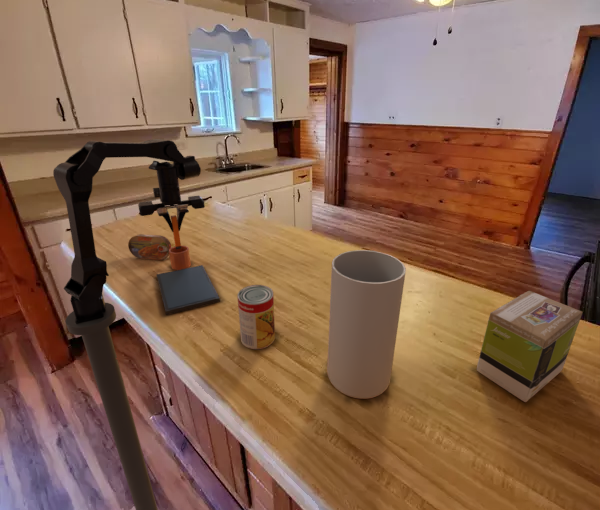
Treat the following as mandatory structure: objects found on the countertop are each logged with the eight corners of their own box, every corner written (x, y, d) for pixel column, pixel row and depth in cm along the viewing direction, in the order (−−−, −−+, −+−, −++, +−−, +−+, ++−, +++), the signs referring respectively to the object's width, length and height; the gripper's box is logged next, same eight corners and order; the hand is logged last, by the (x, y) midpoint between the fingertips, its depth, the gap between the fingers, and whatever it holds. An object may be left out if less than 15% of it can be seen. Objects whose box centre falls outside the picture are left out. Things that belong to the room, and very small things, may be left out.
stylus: (176, 249, 108) (171, 217, 104) (175, 247, 110) (170, 215, 105) (181, 248, 109) (176, 216, 105) (180, 246, 110) (175, 215, 106)
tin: (130, 257, 117) (125, 235, 114) (135, 254, 120) (131, 232, 117) (170, 261, 115) (166, 238, 112) (174, 257, 118) (171, 235, 115)
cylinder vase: (327, 399, 62) (333, 282, 53) (326, 352, 74) (330, 249, 64) (396, 402, 62) (414, 284, 52) (383, 354, 73) (396, 250, 63)
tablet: (166, 315, 86) (165, 311, 86) (157, 277, 104) (156, 274, 104) (220, 301, 92) (219, 297, 92) (202, 268, 110) (202, 264, 110)
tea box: (512, 344, 76) (529, 288, 71) (562, 372, 69) (587, 311, 63) (473, 370, 69) (489, 310, 63) (525, 405, 61) (549, 340, 55)
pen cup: (173, 271, 108) (170, 254, 106) (170, 263, 113) (167, 247, 111) (192, 267, 111) (190, 251, 108) (189, 260, 116) (186, 244, 113)
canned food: (280, 332, 80) (279, 289, 75) (264, 353, 74) (262, 307, 69) (252, 323, 83) (249, 281, 78) (234, 343, 76) (230, 298, 72)
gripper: (195, 174, 111) (200, 219, 117) (133, 180, 104) (142, 227, 110) (202, 181, 102) (207, 229, 108) (135, 188, 94) (144, 239, 100)
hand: (175, 231), depth 107 cm, fingers closed on stylus, 1 cm apart
